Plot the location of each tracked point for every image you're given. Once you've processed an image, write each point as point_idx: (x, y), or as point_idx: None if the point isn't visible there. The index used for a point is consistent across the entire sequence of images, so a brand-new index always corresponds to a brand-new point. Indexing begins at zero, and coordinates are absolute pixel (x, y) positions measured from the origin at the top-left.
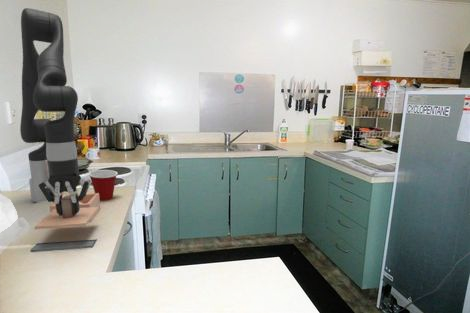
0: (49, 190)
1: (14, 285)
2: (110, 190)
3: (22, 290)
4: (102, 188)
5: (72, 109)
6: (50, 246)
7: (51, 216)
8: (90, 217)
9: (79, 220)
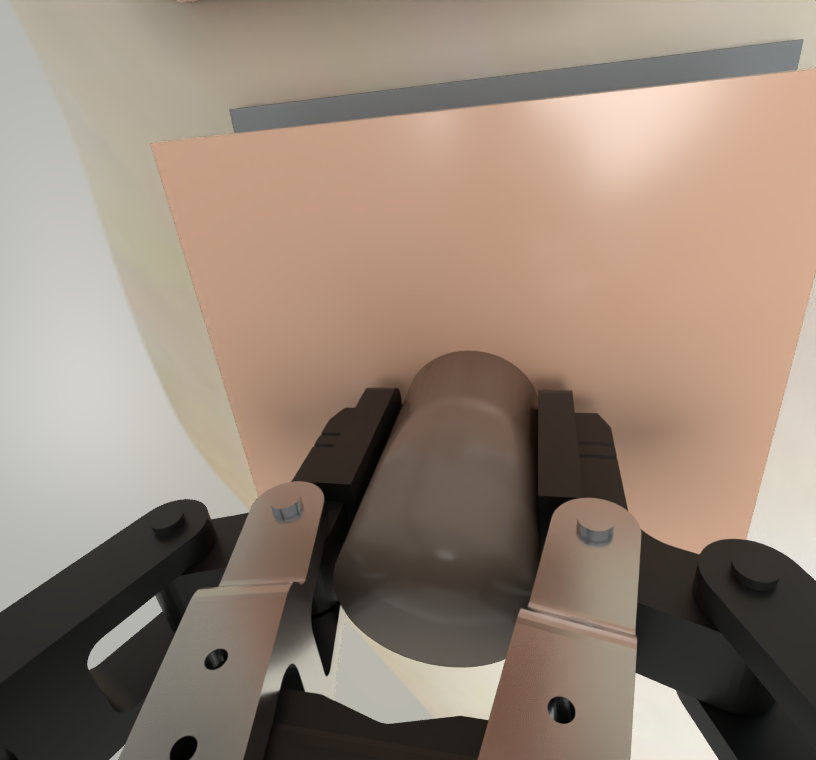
0: (56, 715)
1: (427, 677)
2: None
3: (476, 707)
4: None
5: None
6: None
7: (282, 394)
8: (758, 477)
9: None
